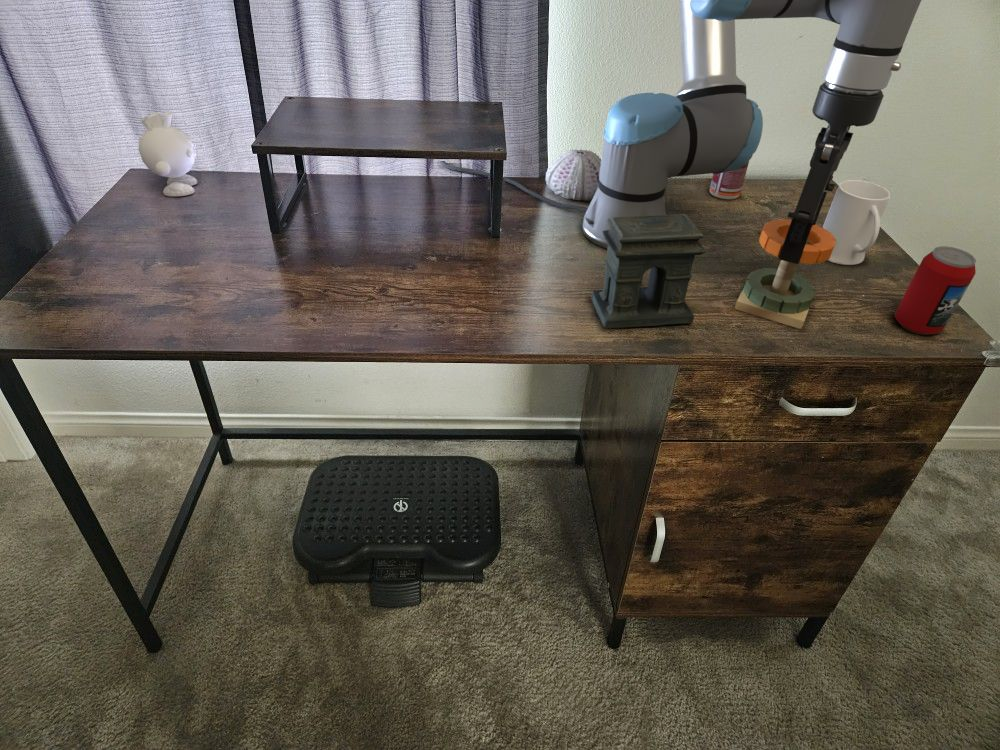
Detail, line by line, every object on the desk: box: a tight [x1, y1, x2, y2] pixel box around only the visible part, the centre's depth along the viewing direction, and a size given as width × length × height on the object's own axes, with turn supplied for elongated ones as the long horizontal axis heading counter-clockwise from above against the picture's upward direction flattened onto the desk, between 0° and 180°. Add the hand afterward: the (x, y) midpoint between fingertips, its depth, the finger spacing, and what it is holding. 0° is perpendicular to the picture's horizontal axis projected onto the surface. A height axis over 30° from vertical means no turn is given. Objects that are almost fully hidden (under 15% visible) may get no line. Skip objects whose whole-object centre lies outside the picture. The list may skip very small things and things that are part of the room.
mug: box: [821, 179, 892, 266], centre depth 110 cm, size 12×8×12 cm
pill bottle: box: [709, 160, 750, 200], centre depth 130 cm, size 6×6×11 cm
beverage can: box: [894, 245, 977, 336], centre depth 95 cm, size 7×7×12 cm
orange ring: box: [758, 218, 836, 265], centre depth 95 cm, size 10×10×2 cm
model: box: [590, 213, 707, 329], centre depth 94 cm, size 14×9×15 cm, turn 99°
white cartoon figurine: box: [138, 109, 198, 197], centre depth 121 cm, size 15×10×15 cm, turn 13°
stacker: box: [734, 260, 817, 330], centre depth 99 cm, size 10×10×8 cm
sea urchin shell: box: [545, 149, 602, 201], centre depth 130 cm, size 13×14×8 cm
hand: (795, 245), depth 95 cm, fingers closed on orange ring, 10 cm apart
